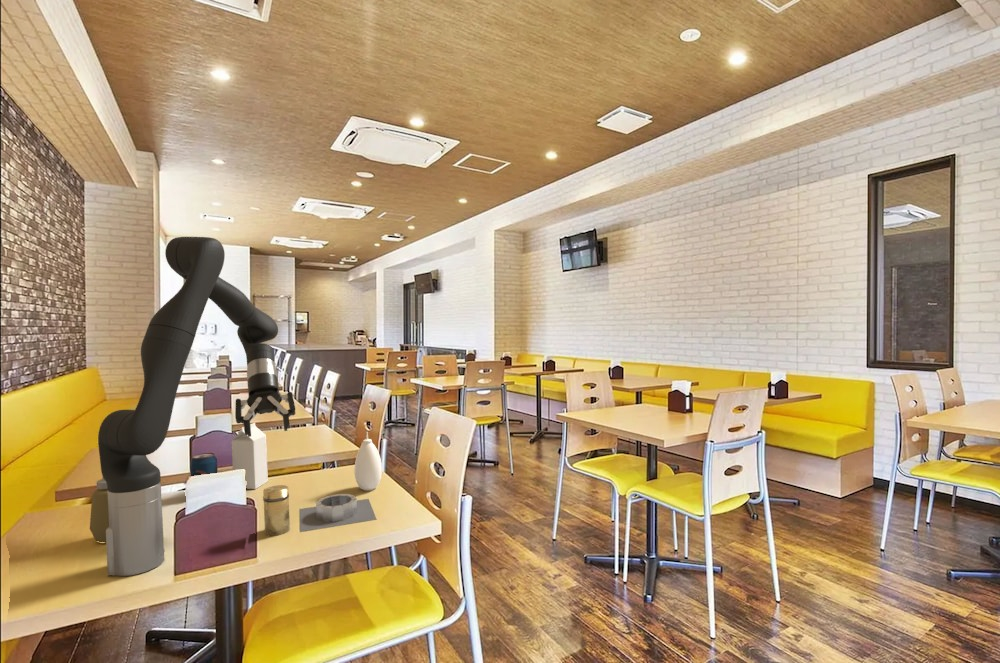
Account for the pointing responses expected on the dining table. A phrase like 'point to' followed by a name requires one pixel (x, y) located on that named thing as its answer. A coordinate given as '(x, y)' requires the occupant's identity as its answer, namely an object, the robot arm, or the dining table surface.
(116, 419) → the robot arm
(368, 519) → the mat
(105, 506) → the squeeze bottle
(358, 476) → the sauce bottle
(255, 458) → the milk carton
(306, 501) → the dining table surface
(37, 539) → the dining table surface
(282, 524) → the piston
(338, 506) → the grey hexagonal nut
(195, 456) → the soda can
